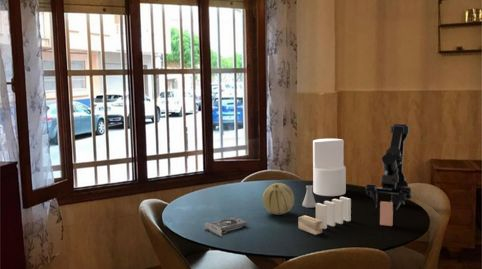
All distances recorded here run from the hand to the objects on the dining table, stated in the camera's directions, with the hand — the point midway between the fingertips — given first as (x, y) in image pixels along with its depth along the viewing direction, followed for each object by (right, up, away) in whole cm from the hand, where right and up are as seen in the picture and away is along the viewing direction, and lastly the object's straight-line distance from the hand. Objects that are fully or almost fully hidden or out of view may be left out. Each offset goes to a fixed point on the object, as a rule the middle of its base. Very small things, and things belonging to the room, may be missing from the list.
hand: (385, 208), depth 203 cm
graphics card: (-67, -10, +3) cm, 68 cm away
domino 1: (-27, -8, +2) cm, 28 cm away
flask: (-28, -4, +33) cm, 43 cm away
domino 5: (+1, -7, +2) cm, 8 cm away
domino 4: (-15, -7, +10) cm, 19 cm away
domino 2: (-23, -8, +5) cm, 25 cm away
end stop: (-32, -9, -2) cm, 34 cm away
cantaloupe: (-44, -6, +22) cm, 49 cm away
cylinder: (-13, 0, +58) cm, 60 cm away
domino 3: (-19, -7, +7) cm, 22 cm away
